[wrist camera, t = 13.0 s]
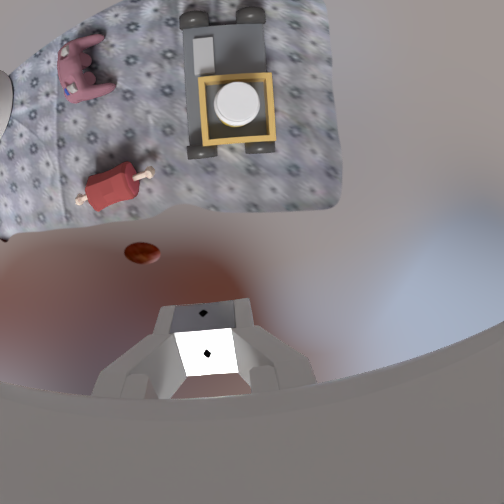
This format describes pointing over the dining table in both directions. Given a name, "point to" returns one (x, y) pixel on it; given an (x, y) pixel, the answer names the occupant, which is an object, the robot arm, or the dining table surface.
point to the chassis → (226, 80)
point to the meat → (113, 186)
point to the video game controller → (80, 71)
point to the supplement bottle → (236, 104)
